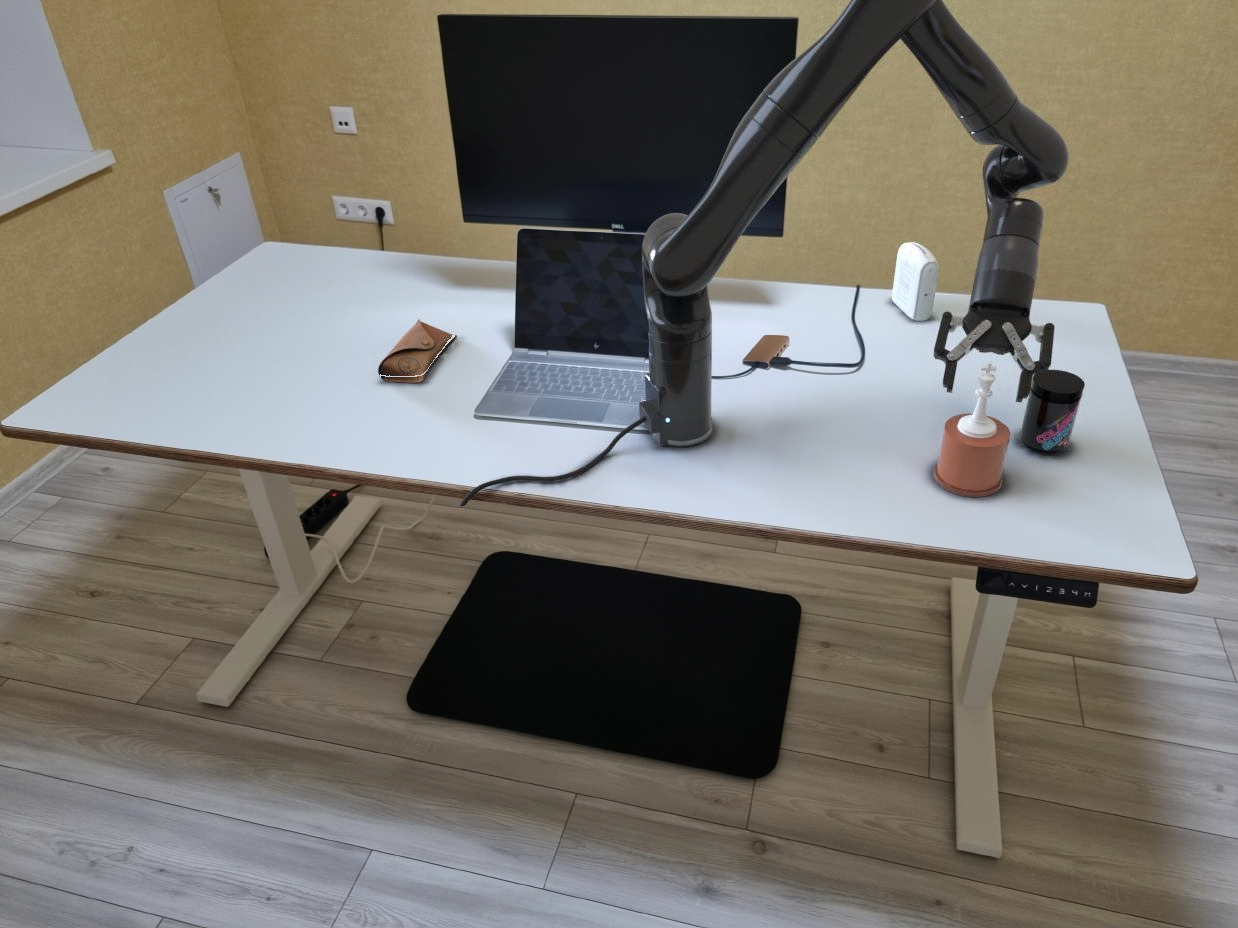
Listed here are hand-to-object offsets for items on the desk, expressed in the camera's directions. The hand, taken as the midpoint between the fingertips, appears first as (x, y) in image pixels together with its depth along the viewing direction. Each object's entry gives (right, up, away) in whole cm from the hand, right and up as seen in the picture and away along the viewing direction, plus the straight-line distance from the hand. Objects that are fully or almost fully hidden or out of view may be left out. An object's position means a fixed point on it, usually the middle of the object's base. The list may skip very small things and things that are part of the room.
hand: (984, 396), depth 120 cm
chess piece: (+1, -4, +5) cm, 6 cm away
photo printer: (+7, +20, +53) cm, 57 cm away
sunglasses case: (-83, +10, +47) cm, 96 cm away
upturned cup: (+1, -11, +9) cm, 14 cm away
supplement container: (+14, -6, +15) cm, 22 cm away
